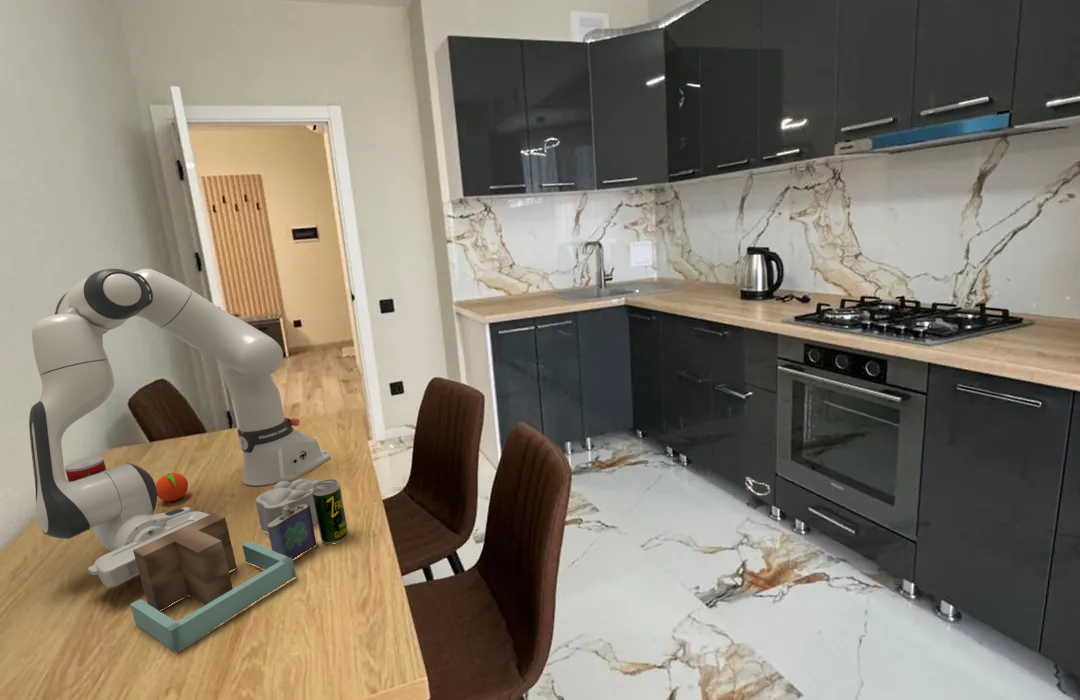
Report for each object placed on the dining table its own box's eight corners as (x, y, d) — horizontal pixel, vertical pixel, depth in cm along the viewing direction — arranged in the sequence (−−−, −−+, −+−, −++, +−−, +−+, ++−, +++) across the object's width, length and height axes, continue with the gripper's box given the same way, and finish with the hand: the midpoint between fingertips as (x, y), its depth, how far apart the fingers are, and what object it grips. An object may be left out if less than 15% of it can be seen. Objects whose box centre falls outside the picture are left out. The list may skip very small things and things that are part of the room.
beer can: (315, 544, 118) (305, 490, 115) (332, 530, 123) (322, 478, 120) (338, 546, 116) (328, 491, 113) (354, 532, 121) (344, 479, 118)
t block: (226, 563, 114) (214, 512, 111) (260, 580, 107) (248, 526, 104) (148, 605, 102) (132, 550, 100) (181, 627, 96) (166, 568, 93)
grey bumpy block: (257, 527, 127) (249, 491, 125) (313, 503, 136) (307, 469, 134) (277, 542, 120) (269, 504, 118) (335, 515, 129) (328, 480, 127)
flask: (281, 570, 110) (270, 518, 107) (271, 566, 111) (260, 516, 109) (320, 544, 118) (310, 496, 115) (310, 541, 119) (300, 494, 117)
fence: (253, 559, 114) (249, 541, 113) (296, 578, 107) (292, 558, 106) (136, 625, 97) (130, 604, 96) (177, 653, 90) (171, 631, 89)
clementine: (196, 499, 144) (189, 472, 142) (164, 510, 139) (157, 483, 137) (186, 490, 149) (179, 465, 148) (155, 501, 144) (148, 475, 143)
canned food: (94, 510, 142) (82, 469, 140) (68, 510, 144) (56, 469, 142) (121, 495, 150) (111, 456, 147) (96, 495, 151) (85, 456, 149)
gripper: (79, 553, 105) (111, 573, 97) (194, 502, 121) (230, 516, 114) (88, 583, 106) (121, 606, 99) (201, 529, 123) (237, 545, 115)
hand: (180, 557), depth 106 cm, fingers closed, pressing on t block
